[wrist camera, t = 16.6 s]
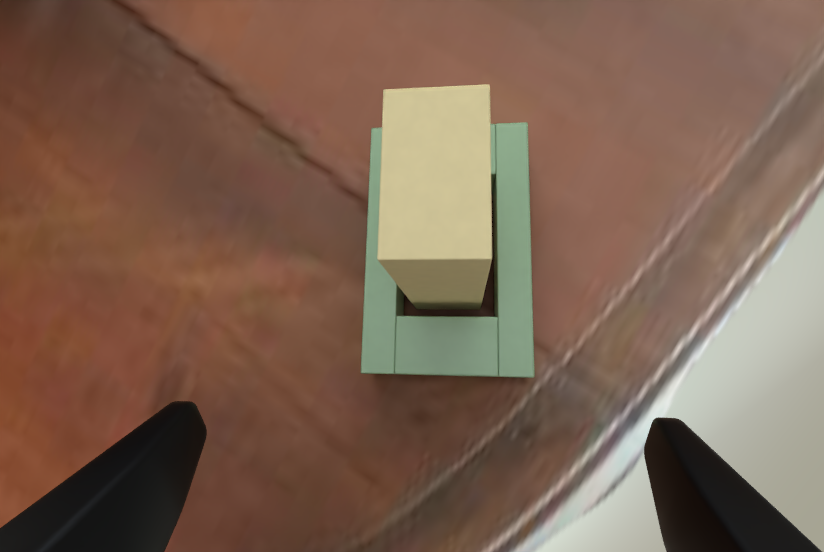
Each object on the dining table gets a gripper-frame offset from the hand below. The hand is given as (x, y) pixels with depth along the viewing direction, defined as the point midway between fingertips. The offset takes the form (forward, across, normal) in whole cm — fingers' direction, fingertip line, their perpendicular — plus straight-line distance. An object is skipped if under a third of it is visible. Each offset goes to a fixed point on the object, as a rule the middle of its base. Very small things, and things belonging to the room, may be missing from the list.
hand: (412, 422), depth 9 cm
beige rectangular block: (+13, 0, +4) cm, 14 cm away
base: (+13, 0, +4) cm, 14 cm away
